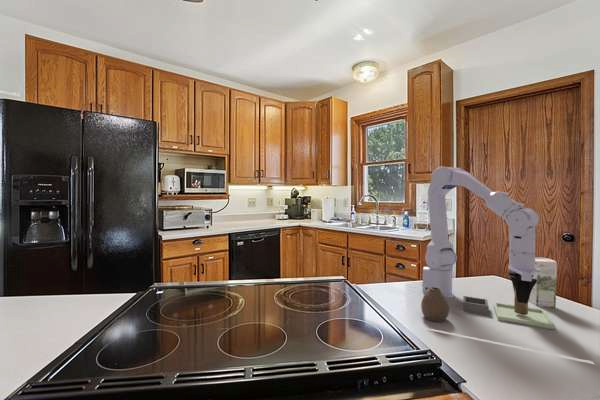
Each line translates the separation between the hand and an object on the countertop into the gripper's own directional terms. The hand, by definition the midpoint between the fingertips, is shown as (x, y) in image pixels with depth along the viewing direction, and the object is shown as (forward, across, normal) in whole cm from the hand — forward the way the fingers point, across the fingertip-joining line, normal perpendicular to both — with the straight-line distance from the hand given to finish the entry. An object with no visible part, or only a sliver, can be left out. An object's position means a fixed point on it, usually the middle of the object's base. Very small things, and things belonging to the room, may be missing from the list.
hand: (521, 300), depth 81 cm
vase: (+5, -13, +21) cm, 25 cm away
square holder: (+5, 0, +11) cm, 12 cm away
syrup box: (+5, +16, -7) cm, 18 cm away
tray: (+5, 0, 0) cm, 5 cm away
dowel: (+3, 0, 0) cm, 3 cm away
